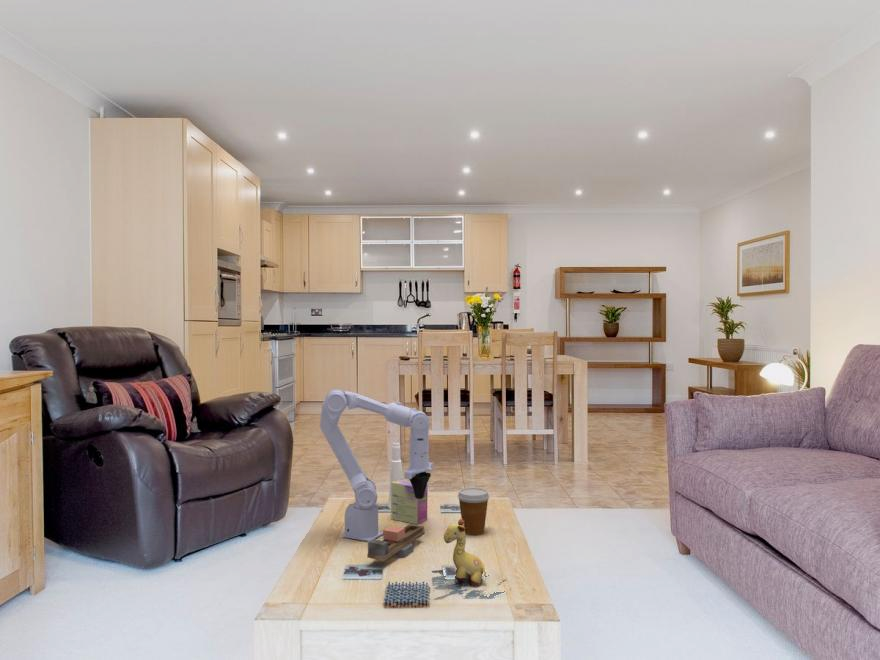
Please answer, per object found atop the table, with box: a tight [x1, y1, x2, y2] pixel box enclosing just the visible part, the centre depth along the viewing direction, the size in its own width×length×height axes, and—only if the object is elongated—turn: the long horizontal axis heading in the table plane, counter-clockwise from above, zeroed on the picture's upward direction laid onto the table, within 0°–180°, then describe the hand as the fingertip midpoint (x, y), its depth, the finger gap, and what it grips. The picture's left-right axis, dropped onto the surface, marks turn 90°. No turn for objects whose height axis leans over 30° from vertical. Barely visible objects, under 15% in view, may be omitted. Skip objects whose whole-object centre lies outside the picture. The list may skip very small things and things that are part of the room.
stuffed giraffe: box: [431, 517, 505, 600], centre depth 143 cm, size 16×18×16 cm
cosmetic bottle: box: [387, 442, 404, 509], centre depth 204 cm, size 6×6×22 cm
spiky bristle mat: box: [382, 581, 431, 609], centre depth 135 cm, size 10×11×2 cm
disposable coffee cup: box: [457, 487, 490, 536], centre depth 180 cm, size 10×10×12 cm
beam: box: [366, 523, 425, 561], centre depth 163 cm, size 7×22×6 cm, turn 154°
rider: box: [382, 525, 405, 545], centre depth 161 cm, size 4×4×4 cm
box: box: [390, 479, 429, 526], centre depth 191 cm, size 10×6×12 cm, turn 58°
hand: (419, 498), depth 179 cm, fingers closed
